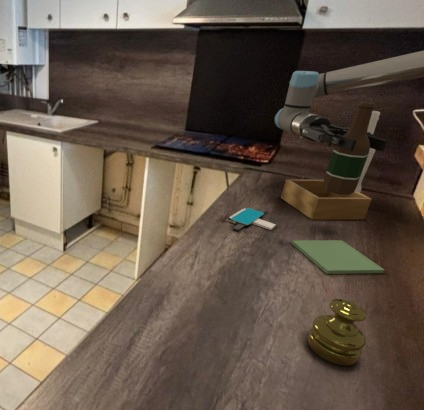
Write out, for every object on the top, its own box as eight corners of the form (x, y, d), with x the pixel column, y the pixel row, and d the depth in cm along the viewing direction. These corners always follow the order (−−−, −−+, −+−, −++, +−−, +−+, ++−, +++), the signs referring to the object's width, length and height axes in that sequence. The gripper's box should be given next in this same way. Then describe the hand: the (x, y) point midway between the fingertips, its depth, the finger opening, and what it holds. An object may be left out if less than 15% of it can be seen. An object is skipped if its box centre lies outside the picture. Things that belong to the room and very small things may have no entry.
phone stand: (258, 239, 97) (260, 234, 97) (218, 224, 105) (219, 219, 104) (285, 218, 110) (287, 213, 109) (247, 206, 118) (248, 201, 117)
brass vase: (346, 374, 57) (368, 326, 53) (298, 345, 63) (315, 299, 59) (364, 354, 61) (385, 307, 57) (317, 328, 67) (334, 284, 63)
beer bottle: (353, 188, 101) (384, 101, 92) (355, 197, 95) (389, 105, 86) (321, 183, 105) (348, 99, 95) (321, 191, 99) (350, 102, 89)
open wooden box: (364, 219, 111) (372, 198, 108) (311, 219, 110) (318, 198, 107) (326, 198, 127) (333, 179, 124) (280, 198, 126) (286, 179, 123)
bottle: (336, 198, 127) (365, 112, 115) (328, 190, 134) (354, 108, 122) (362, 201, 125) (394, 114, 113) (352, 192, 132) (381, 110, 120)
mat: (383, 273, 84) (384, 269, 84) (326, 274, 83) (327, 270, 83) (340, 243, 97) (341, 240, 96) (291, 243, 96) (292, 240, 95)
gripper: (338, 139, 113) (401, 160, 92) (276, 138, 112) (325, 159, 91) (346, 115, 110) (412, 131, 89) (283, 114, 109) (334, 130, 88)
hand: (368, 145), depth 90 cm, fingers closed on beer bottle, 7 cm apart
